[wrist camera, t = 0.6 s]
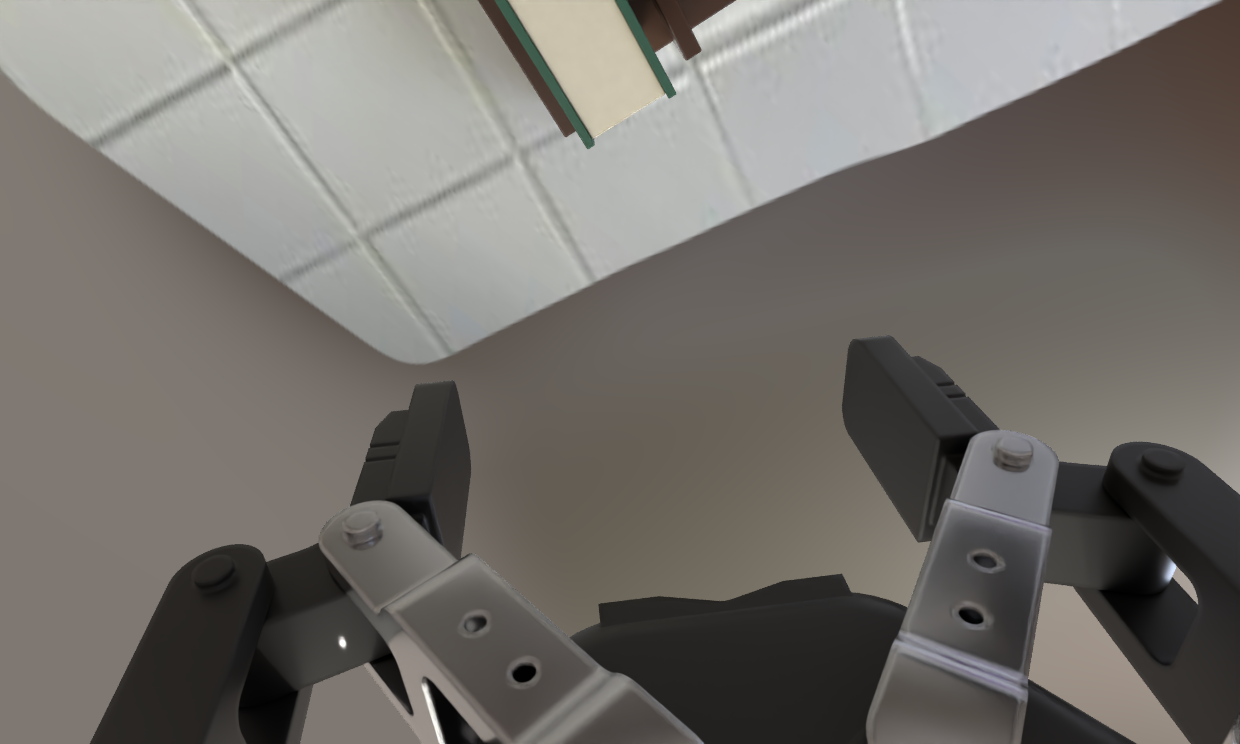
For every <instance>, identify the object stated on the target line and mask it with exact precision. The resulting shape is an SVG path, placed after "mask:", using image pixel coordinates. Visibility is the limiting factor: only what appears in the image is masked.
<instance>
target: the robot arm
mask: <svg viewBox="0 0 1240 744" xmlns="http://www.w3.org/2000/svg"><path fill="white" fill-rule="evenodd" d="M842 412H843V419H844V424H845V427H846V430H847V432H848V434H849V436H850V437H851V439H852V440H853V442H854V443H855V445H856V446H857V448H858V450H859V451H860V453H861V454H862V456H863V458H864V459H865V461H866V462H867V464H868V465H869V467H870V468H871V470H872V472H873V473H874V475H875V476H876V478H877V479H878V481H879V482H880V484H881V486H882V487H883V488H884V490H885V492H886V493H887V495H888V496H889V498H890V500H891V501H892V503H893V504H894V506H895V507H896V509H897V511H898V512H899V514H900V515H901V517H902V518H903V520H904V521H905V523H906V525H907V526H908V528H909V529H910V531H911V532H912V534H913V535H914V537H915V539H916V540H917V542H926V541H931V543H930V545H929V548H928V551H927V554H926V557H925V560H924V563H923V565H922V568H921V571H920V574H919V577H918V580H917V583H916V586H915V589H914V591H913V594H912V597H911V600H910V603H909V606H908V608H907V607H905V606H903V605H901V604H898V603H895V602H893V601H890V600H887V599H883V598H880V597H876V596H872V595H866V594H860V593H852V592H851V591H850V590H849V587H848V585H847V583H846V581H845V579H844V577H843V575H842V574H837V575H829V576H820V577H812V578H805V579H797V580H789V581H782V582H779V583H776V584H773V585H771V586H768V587H765V588H762V589H759V590H757V591H754V592H751V593H749V594H745V595H742V596H740V597H737V598H734V599H731V600H727V601H710V600H698V599H686V598H673V597H660V596H658V597H650V598H642V599H634V600H626V601H618V602H609V603H601V604H599V613H600V623H599V624H596V625H593V626H591V627H588V628H586V629H584V630H582V631H580V632H578V633H576V634H574V635H573V636H571V637H568V636H567V635H566V634H565V633H563V632H562V631H561V630H560V629H559V628H558V627H557V626H556V625H555V624H553V623H552V622H551V621H550V620H549V619H548V618H547V617H546V616H544V615H543V614H542V613H541V612H540V611H539V610H538V609H537V608H536V607H534V606H533V605H532V604H531V603H530V602H529V601H528V600H527V599H525V598H524V597H523V596H522V595H521V594H520V593H519V592H518V591H516V590H515V589H514V588H513V587H512V586H511V585H510V584H509V583H507V581H505V580H504V579H503V578H502V577H501V576H500V575H499V574H498V573H496V572H495V571H494V570H493V569H492V568H491V567H490V566H489V565H487V564H486V563H485V562H484V561H483V560H482V559H481V558H479V557H478V556H476V555H475V554H468V555H466V556H465V557H463V558H461V551H462V543H463V534H464V526H465V518H466V509H467V500H468V492H469V484H470V476H471V460H470V451H469V444H468V439H467V435H466V429H465V424H464V420H463V415H462V410H461V405H460V400H459V395H458V391H457V388H456V384H455V382H454V381H453V380H452V381H443V382H433V383H424V384H416V385H415V388H414V392H413V395H412V399H411V403H410V406H409V410H403V411H393V412H391V413H389V414H388V415H387V417H386V418H385V419H384V420H383V421H382V422H381V423H380V424H379V425H378V426H377V427H376V428H375V431H374V434H373V437H372V440H371V443H370V448H369V449H368V452H367V456H366V462H364V465H363V468H362V471H361V474H360V477H359V480H358V483H357V486H356V489H355V492H354V495H353V499H352V501H351V504H350V507H348V508H346V509H344V510H342V511H341V512H339V513H337V514H336V515H335V516H333V517H332V518H331V519H330V520H329V521H328V522H327V523H326V524H325V525H324V527H323V528H322V530H321V532H320V535H319V541H318V543H317V544H315V545H313V546H311V547H309V548H306V549H303V550H301V551H298V552H295V553H292V554H289V555H286V556H283V557H280V558H277V559H274V560H271V561H269V562H266V561H265V558H264V556H263V554H262V553H261V551H260V550H258V549H257V548H255V547H253V546H249V545H243V544H235V545H227V546H223V547H219V548H216V549H213V550H210V551H208V552H205V553H203V554H201V555H199V556H198V557H196V558H194V559H193V560H191V561H190V562H188V563H187V564H186V565H184V566H183V567H182V568H181V569H180V570H179V571H178V572H177V573H176V574H175V575H174V576H173V578H172V579H171V581H170V582H169V584H168V586H167V588H166V590H165V592H164V594H163V596H162V598H161V600H160V602H159V604H158V606H157V608H156V610H155V612H154V614H153V616H152V618H151V620H150V623H149V625H148V627H147V629H146V631H145V633H144V635H143V637H142V639H141V641H140V643H139V645H138V647H137V649H136V651H135V653H134V655H133V657H132V659H131V661H130V663H129V665H128V667H127V669H126V671H125V673H124V675H123V677H122V679H121V681H120V684H119V686H118V688H117V690H116V692H115V694H114V696H113V698H112V700H111V702H110V704H109V706H108V708H107V710H106V712H105V714H104V716H103V718H102V720H101V722H100V724H99V726H98V728H97V730H96V732H95V734H94V736H93V738H92V740H91V743H90V744H300V740H301V736H302V732H303V727H304V723H305V719H306V714H307V710H308V705H309V701H310V697H311V692H312V688H313V684H315V683H318V682H320V681H323V680H325V679H328V678H330V677H333V676H335V675H338V674H340V673H343V672H345V671H348V670H350V669H353V668H355V667H358V666H360V665H364V667H365V669H366V670H367V671H368V672H369V674H370V675H371V676H372V678H373V679H374V680H375V682H376V683H377V684H378V686H379V687H380V688H381V689H382V691H383V692H384V693H385V695H386V696H387V697H388V699H389V700H390V701H391V702H392V704H393V705H394V706H395V708H396V709H397V710H398V712H399V713H400V714H401V716H402V717H403V718H404V720H405V721H406V722H407V723H408V725H409V726H410V727H411V729H412V730H413V731H414V733H415V734H416V736H417V737H418V739H419V740H420V742H421V744H1136V743H1134V742H1133V741H1131V740H1129V739H1128V738H1126V737H1124V736H1123V735H1121V734H1119V733H1118V732H1116V731H1114V730H1113V729H1111V728H1109V727H1108V726H1106V725H1104V724H1102V723H1101V722H1099V721H1098V720H1096V719H1094V718H1093V717H1091V716H1089V715H1088V714H1086V713H1084V712H1083V711H1081V710H1079V709H1078V708H1076V707H1074V706H1073V705H1071V704H1069V703H1068V702H1066V701H1064V700H1063V699H1061V698H1059V697H1058V696H1056V695H1054V694H1052V693H1051V692H1049V691H1048V690H1046V689H1044V688H1043V687H1041V686H1039V685H1038V684H1036V683H1034V682H1033V681H1031V680H1029V679H1028V676H1029V669H1030V663H1031V657H1032V651H1033V645H1034V639H1035V632H1036V626H1037V620H1038V614H1039V608H1040V602H1041V596H1042V589H1043V583H1051V584H1060V585H1067V586H1073V587H1074V589H1075V590H1076V592H1077V593H1078V594H1079V595H1080V597H1081V598H1082V600H1083V601H1084V602H1085V603H1086V605H1087V606H1088V607H1089V609H1090V610H1091V612H1092V613H1093V614H1094V615H1095V617H1096V618H1097V619H1098V621H1099V622H1100V624H1101V625H1102V626H1103V628H1104V629H1105V630H1106V632H1107V633H1108V634H1109V636H1110V637H1111V638H1112V640H1113V641H1114V642H1115V644H1116V645H1117V646H1118V647H1119V649H1120V650H1121V651H1122V653H1123V654H1124V655H1125V657H1126V658H1127V659H1128V661H1129V662H1130V663H1131V665H1132V666H1133V667H1134V669H1135V670H1136V671H1137V673H1138V674H1139V675H1140V677H1141V678H1142V679H1143V681H1144V682H1145V683H1146V685H1147V686H1148V687H1149V689H1150V690H1151V691H1152V693H1153V694H1154V695H1155V696H1156V698H1157V699H1158V701H1159V702H1160V703H1161V705H1162V706H1163V707H1164V709H1165V710H1166V711H1167V713H1168V714H1169V715H1170V717H1171V718H1172V719H1173V721H1174V722H1175V723H1176V725H1177V726H1178V727H1179V728H1180V730H1181V731H1182V732H1183V734H1184V735H1185V737H1186V738H1187V739H1188V741H1189V742H1190V743H1191V744H1240V495H1239V494H1238V493H1237V492H1236V491H1235V490H1233V489H1232V488H1231V487H1230V486H1229V485H1227V484H1226V483H1225V482H1224V481H1223V480H1222V479H1221V478H1219V477H1218V476H1217V475H1216V474H1215V473H1213V472H1212V471H1211V470H1210V469H1209V468H1208V467H1206V466H1205V465H1204V464H1203V463H1201V462H1200V461H1199V460H1197V459H1196V458H1194V457H1193V456H1191V455H1189V454H1187V453H1185V452H1183V451H1180V450H1178V449H1175V448H1172V447H1169V446H1165V445H1161V444H1156V443H1150V442H1130V443H1125V444H1121V445H1119V446H1117V447H1116V448H1115V449H1114V450H1113V452H1112V453H1111V456H1110V459H1109V462H1108V465H1107V466H1099V465H1088V464H1077V463H1067V462H1059V460H1058V457H1057V455H1056V454H1055V452H1054V451H1053V450H1052V449H1051V448H1050V447H1049V446H1047V445H1046V444H1045V443H1043V442H1041V441H1040V440H1038V439H1036V438H1034V437H1031V436H1028V435H1026V434H1022V433H1018V432H1013V431H1006V430H1000V429H999V428H998V427H997V426H996V425H995V424H994V423H993V422H992V421H991V420H990V419H989V418H988V417H987V416H986V415H985V414H984V412H983V411H982V410H981V409H980V408H979V407H978V406H977V405H976V404H975V403H974V402H973V401H972V400H971V399H970V398H969V397H966V396H965V393H964V392H963V391H962V389H961V388H960V387H959V386H958V385H954V381H953V380H952V379H951V378H950V377H949V376H948V375H947V374H946V373H945V372H944V371H943V370H942V369H941V368H940V367H938V366H936V365H934V364H933V363H931V362H929V361H927V360H925V359H923V358H921V357H919V356H915V357H911V356H910V355H909V354H908V353H907V352H906V351H905V350H904V349H903V348H902V346H901V345H900V344H899V343H898V342H897V341H896V340H895V339H894V338H893V337H892V336H889V335H888V336H878V337H869V338H859V339H853V340H852V341H851V342H850V345H849V349H848V356H847V365H846V375H845V384H844V393H843V403H842ZM1176 566H1177V567H1178V568H1179V569H1180V570H1181V571H1182V572H1183V573H1184V574H1185V575H1186V576H1187V577H1188V579H1189V580H1190V581H1191V583H1192V584H1193V586H1194V588H1195V590H1196V593H1197V597H1198V605H1197V603H1196V602H1195V601H1194V600H1193V599H1192V598H1191V597H1190V596H1189V595H1188V594H1187V593H1186V591H1185V590H1183V588H1182V587H1181V586H1180V585H1179V584H1178V583H1177V582H1176V581H1175V580H1174V578H1173V577H1172V576H1173V573H1174V571H1175V568H1176Z"/></svg>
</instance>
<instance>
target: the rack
mask: <svg viewBox="0 0 1240 744" xmlns="http://www.w3.org/2000/svg"><path fill="white" fill-rule="evenodd" d="M478 1H479V3H480V4H481V6H482V7H483V9H484V11H485V12H486V14H487V15H488V17H489V18H490V20H491V22H492V23H493V25H494V26H495V28H496V29H497V31H498V33H499V34H500V36H501V37H502V39H503V40H504V42H505V44H506V45H507V47H508V48H509V50H510V51H511V53H512V55H513V56H514V58H515V59H516V61H517V62H518V64H519V66H520V67H521V69H522V70H523V72H524V73H525V75H526V77H527V78H528V80H529V81H530V83H531V84H532V86H533V88H534V89H535V91H536V92H537V94H538V95H539V97H540V99H541V100H542V102H543V103H544V105H545V106H546V108H547V110H548V111H549V113H550V114H551V116H552V117H553V119H554V121H555V122H556V124H557V125H558V127H559V128H560V130H561V132H562V133H563V135H564V136H565V137H567V136H569V135H570V134H572V133H574V132H575V131H576V130H575V129H574V127H573V125H572V124H571V122H570V121H569V119H568V117H567V116H566V114H565V113H564V111H563V109H562V108H561V106H560V105H559V103H558V101H557V100H556V98H555V97H554V95H553V93H552V92H551V90H550V89H549V87H548V85H547V84H546V82H545V81H544V79H543V77H542V76H541V74H540V72H539V71H538V69H537V68H536V66H535V64H534V63H533V61H532V60H531V58H530V56H529V55H528V53H527V52H526V50H525V48H524V47H523V45H522V44H521V42H520V40H519V39H518V37H517V36H516V34H515V32H514V31H513V29H512V28H511V26H510V24H509V23H508V21H507V20H506V18H505V16H504V15H503V13H502V12H501V10H500V8H499V7H498V5H497V4H496V2H495V0H478ZM627 1H628V3H629V5H630V6H631V8H632V10H633V12H634V14H635V16H636V18H637V20H638V22H639V23H640V25H641V27H642V29H643V31H644V33H645V35H646V37H647V39H648V40H649V42H650V44H651V46H652V48H653V50H654V52H657V51H658V50H660V49H661V48H663V47H664V46H666V45H667V44H669V43H671V42H672V41H673V42H674V44H675V45H676V47H677V48H678V50H679V51H680V53H681V54H682V56H683V57H684V58H685V60H689V59H690V58H692V57H694V56H695V55H697V54H698V53H700V52H701V48H700V46H699V44H698V42H697V40H696V37H695V35H694V33H693V31H692V28H694V27H695V26H697V25H699V24H700V23H702V22H703V21H705V20H706V19H708V18H709V17H711V16H713V15H714V14H716V13H717V12H719V11H720V10H722V9H723V8H725V7H727V6H728V5H730V4H731V3H733V2H734V1H736V0H627Z"/></svg>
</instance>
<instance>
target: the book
mask: <svg viewBox="0 0 1240 744" xmlns="http://www.w3.org/2000/svg"><path fill="white" fill-rule="evenodd" d="M495 2H496V4H497V5H498V7H499V8H500V10H501V12H502V13H503V15H504V16H505V18H506V20H507V21H508V23H509V24H510V26H511V28H512V29H513V31H514V32H515V34H516V36H517V37H518V39H519V40H520V42H521V44H522V45H523V47H524V48H525V50H526V52H527V53H528V55H529V56H530V58H531V60H532V61H533V63H534V64H535V66H536V68H537V69H538V71H539V72H540V74H541V76H542V77H543V79H544V81H545V82H546V84H547V85H548V87H549V89H550V90H551V92H552V93H553V95H554V97H555V98H556V100H557V101H558V103H559V105H560V106H561V108H562V109H563V111H564V113H565V114H566V116H567V117H568V119H569V121H570V122H571V124H572V125H573V127H574V129H575V130H576V132H577V133H578V135H579V137H580V138H581V140H582V141H583V143H584V145H585V146H586V148H587V149H589V148H591V147H592V146H594V145H595V144H594V138H596V137H598V136H599V135H601V134H602V133H604V132H606V131H607V130H609V129H610V128H612V127H614V126H615V125H617V124H618V123H620V122H622V121H623V120H625V119H626V118H628V117H630V116H631V115H633V114H634V113H636V112H638V111H639V110H641V109H642V108H644V107H646V106H647V105H649V104H650V103H652V102H654V101H655V100H657V99H658V98H660V97H662V96H663V95H665V93H666V95H667V96H668V98H671V97H673V96H674V95H676V92H675V90H674V88H673V86H672V84H671V82H670V80H669V78H668V77H667V75H666V73H665V71H664V69H663V67H662V65H661V63H660V61H659V59H658V58H657V56H656V54H655V52H654V50H653V48H652V46H651V44H650V42H649V40H648V39H647V37H646V35H645V33H644V31H643V29H642V27H641V25H640V23H639V22H638V20H637V18H636V16H635V14H634V12H633V10H632V8H631V6H630V5H629V3H628V1H627V0H495Z"/></svg>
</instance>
